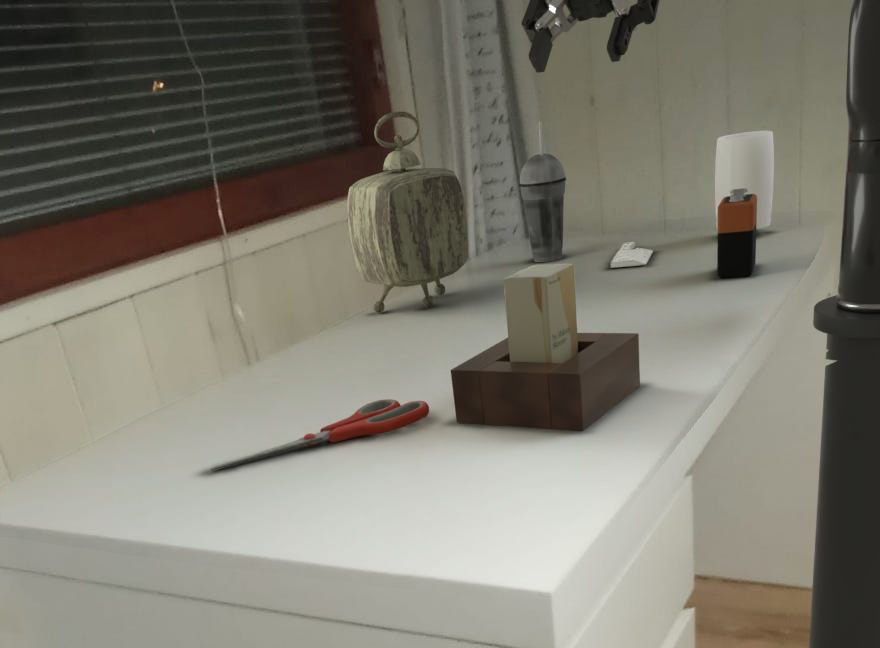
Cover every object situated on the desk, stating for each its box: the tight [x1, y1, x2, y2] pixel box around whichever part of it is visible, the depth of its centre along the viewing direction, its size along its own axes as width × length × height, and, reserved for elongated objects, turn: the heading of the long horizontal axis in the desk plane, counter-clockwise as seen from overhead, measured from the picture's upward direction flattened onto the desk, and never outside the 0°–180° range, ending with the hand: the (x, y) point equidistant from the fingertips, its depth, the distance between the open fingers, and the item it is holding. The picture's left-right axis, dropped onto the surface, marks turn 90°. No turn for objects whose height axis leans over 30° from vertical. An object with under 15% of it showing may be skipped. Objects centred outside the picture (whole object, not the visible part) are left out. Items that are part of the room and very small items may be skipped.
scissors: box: [210, 398, 430, 471], centre depth 92 cm, size 8×21×2 cm, turn 126°
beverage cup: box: [518, 120, 567, 263], centre depth 155 cm, size 7×7×20 cm
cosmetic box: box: [502, 263, 578, 363], centre depth 91 cm, size 6×4×12 cm
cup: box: [714, 130, 775, 231], centre depth 150 cm, size 8×8×14 cm
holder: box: [450, 332, 641, 432], centre depth 92 cm, size 13×13×5 cm
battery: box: [716, 188, 757, 279], centre depth 129 cm, size 4×7×10 cm, turn 159°
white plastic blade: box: [610, 241, 654, 269], centre depth 150 cm, size 5×15×1 cm, turn 161°
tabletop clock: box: [346, 111, 469, 314], centre depth 135 cm, size 14×9×25 cm, turn 123°
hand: (574, 61), depth 103 cm, fingers open, 8 cm apart
